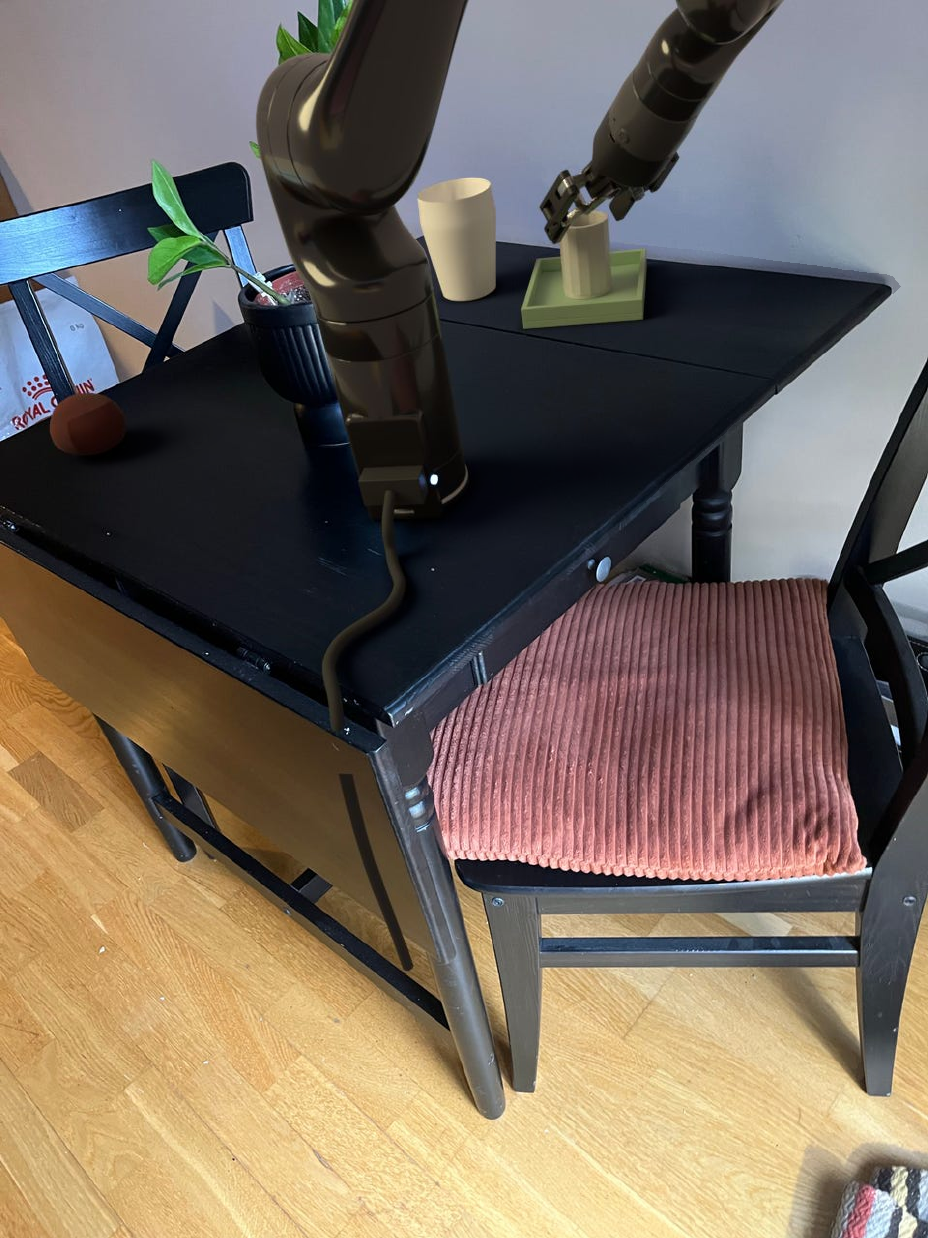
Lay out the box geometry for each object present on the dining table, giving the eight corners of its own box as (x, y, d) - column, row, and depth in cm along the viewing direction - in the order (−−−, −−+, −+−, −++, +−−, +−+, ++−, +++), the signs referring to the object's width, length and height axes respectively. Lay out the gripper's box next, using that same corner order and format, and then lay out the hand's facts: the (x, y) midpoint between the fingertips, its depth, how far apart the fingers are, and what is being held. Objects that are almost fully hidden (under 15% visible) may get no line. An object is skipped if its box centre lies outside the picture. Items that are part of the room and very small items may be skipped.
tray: (642, 319, 100) (642, 298, 99) (523, 328, 103) (521, 308, 102) (646, 267, 111) (646, 248, 110) (538, 277, 114) (536, 258, 113)
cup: (495, 304, 110) (481, 199, 102) (424, 307, 112) (405, 205, 105) (512, 274, 116) (500, 173, 108) (444, 278, 119) (428, 180, 111)
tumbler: (610, 297, 104) (606, 224, 99) (562, 301, 105) (555, 229, 100) (613, 278, 108) (609, 208, 103) (566, 282, 109) (560, 213, 104)
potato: (76, 478, 92) (49, 425, 88) (53, 451, 98) (28, 400, 94) (144, 449, 95) (121, 396, 91) (118, 424, 101) (96, 373, 97)
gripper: (688, 69, 88) (619, 177, 104) (566, 107, 84) (513, 214, 99) (724, 136, 88) (650, 235, 103) (604, 177, 84) (545, 274, 99)
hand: (583, 224), depth 101 cm, fingers open, 8 cm apart
